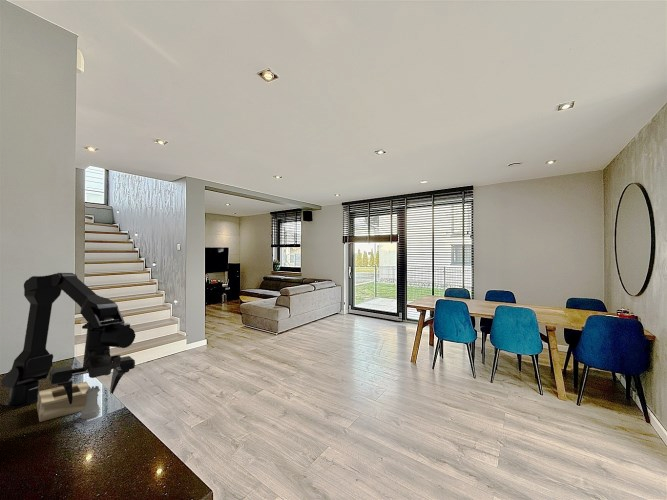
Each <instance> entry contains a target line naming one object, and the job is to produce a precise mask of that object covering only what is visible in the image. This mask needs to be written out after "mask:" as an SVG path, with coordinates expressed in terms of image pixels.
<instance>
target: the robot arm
mask: <svg viewBox="0 0 667 500" xmlns="http://www.w3.org/2000/svg"><path fill="white" fill-rule="evenodd" d="M23 289H24V291H23V295H24V297H25V299H26V300H27V301H28V302H29V310H28V311H29V312H28V317H27V324H26V329H25V337H24V344H23V350H22V351H21V352H20V353H19V355H17V356H16V357H15V359H14V361H13V364H12V367H11V369H10V370H9V371H8V372H7V373H6V374H5V375H4V376H3V377H2V379H1V387H5V388H9V395H8V396H9V397H8V401H6V402H3V403H1V406H2V407H6V408H13V409H14V408H15V409H20V408H23V407H24V406H27V405H30V404H34V403H36V402H38V394H39V388H40V387H39V385H40V381H42V380H45V379H47V378H48V375H49V378H48V379H49V381H50V384H51V385H56V386H57V387H62V386H63V387H64V388H65V391H66V394H67V397H68V400H69V403H70V404H72V400H73V395H72V384H74V381H73V380H72V378H73V377H74V376H79V375H86V374H88V377H89V378H91V379H95V378H97V377H102V376H104V377H105V376H109V375H110V374H111V373H112V376H111V381H110V387H109V394H110V395H113V394H114V392H115V390H116V388H117V386H118V384H119V382H120V380H121V379H122V377H123V375H125V374H126V373H129V372H130V370H134V369H135V368H136V366H135V365H136V360H135V359H133V358H132V357H131V356H122V357H121V354H116V355H111V350H110V349H111V347H112V348H120V349H126V348H128V347H130V346H131V345H132V344H133V343H134V341H135V339H136V333H135V330H134V329H133V328H131V324H130V323H128V322H127V323H125V319H124V316H123V315H122V313H121V311H120V309H119V306H118V304H117V303H116V302H115V301H113V300H112V299H109V298H107V297H103V296H100V295H98V294H96V293H95V292H94V291H93V290H92V289H91V288H90V287H89V286H88V285H86V284H85V283H84V282H83V281H82V280H80V279H79V278H78V275H77V274H76V273H73V272H57V273H53V274H48V275H31V276H30V277H29V278H28V279H26V280H25V281H24V284H23ZM62 291H63V292H64V293H65V294H66V295H67V296H68V297H69V298H70V299H72V301H74V302H75V303H76V304H77V305H78V306H79V307H80V315H81V316H82V317H83V319H84V320H85V321H86V323H84V324H83V325H82V326H81V329H82V330H83V329H84V330H86V338H85V344H84V345H85V346H84V353H83V354H84V355H83V361H82V366H81V367H77V368H72V367H71V366H70V365H66V366H60V367H54V368H52V367H53V360H54V354H53V353H50V352H49V351H48V350H47V342H48V335H49V328H50V321H51V315H52V307H53V303H55V301H56V300H58V298H59V297H60V296H61V293H62ZM51 368H52V369H51ZM111 393H112V394H111Z"/></svg>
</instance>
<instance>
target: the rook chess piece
mask: <svg viewBox="0 0 667 500" xmlns="http://www.w3.org/2000/svg"><path fill="white" fill-rule="evenodd" d="M100 391H101V389H100V388H99V386H98V385H95V386H91V387H89V388H88V390H87V391H86V394H87V397H86V398H87V401H86V405H85V407H84V408H83V410H82V411H80V419H82V420H89V419H90V420H91V419H94V418H96V417H98V416H99V415H100V413H101V411H100V410H101V408H100V405H99V404H98V398H99V397H98V396H99V394H98V393H99V392H100Z"/></svg>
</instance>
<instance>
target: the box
mask: <svg viewBox="0 0 667 500" xmlns="http://www.w3.org/2000/svg"><path fill="white" fill-rule="evenodd" d="M89 387H90V385H89V383H88V382H87V381H84V382H77V383H73V384H72V395H73V400H72V404H70V403H69V400H68V397H67V394H66V391H65V388H64V387H63V385H61V386H57V387H53V388H47V389H44V390H43V389H42V390H38V401H36V402H37V403H36V411H37V415H38V421H39V423H40V422H41V423H42V422H46V421H49V420H52V419H56V418H60V417H64V416H68V415H71V414H75V413H81V412H82V410H83V408H84V407H85V405H86V401H87V398H86V397H87V394H86V391H87V390H88V388H89Z"/></svg>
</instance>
